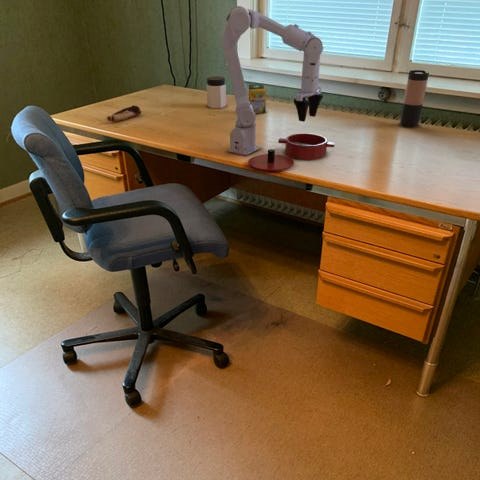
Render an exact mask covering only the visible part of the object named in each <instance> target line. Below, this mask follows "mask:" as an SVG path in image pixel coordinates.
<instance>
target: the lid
mask: <svg viewBox="0 0 480 480" xmlns="http://www.w3.org/2000/svg"><path fill="white" fill-rule="evenodd" d="M247 164H248V166H249V167H251V168H252V169H254V170H258V171H264V172H279V171H285V170H288V169H291V168H293V166H294V164H295V162H294V159H293V158H291V157H289V156H287V155H282V154H277V153H276V150H275V149H273V148H269V149H268V150H267V154H266V153H263V154H257V155H255V156H251V157H250V158H249V159H248V162H247Z"/></svg>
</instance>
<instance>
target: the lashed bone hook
mask: <svg viewBox="0 0 480 480" xmlns="http://www.w3.org/2000/svg"><path fill="white" fill-rule="evenodd" d="M141 114H142V109H141V108H140V107H139V106H138V105H134V104H133V105H131V106H128V107H124V108H122V109H119V110H117V111H116V112H114V113H113V114H111V115H108V116H107V117H106V118H107V121H109V122H119V121H126V120H128V119H132V118H135V117H137V116H139V115H141Z"/></svg>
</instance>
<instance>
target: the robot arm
mask: <svg viewBox="0 0 480 480" xmlns="http://www.w3.org/2000/svg"><path fill="white" fill-rule="evenodd" d="M249 28H250V29H251V30H253V29H258V28H260V29H263V30H265V31H267V32H269V33H272V34H273V35H276V36H278V37H281V40H282V43H283V44H284V45H287V46H289V47H291V48H292V49H295V50H297V51H299V52H303V58H302V59H303V60H302V68H301V69H302V70H301V84H300V90H299V91H298V92H297V93H296V95H295V98H294V99H293V104H294V105H295V107H296V111H297V117H298V121H299V122H306V119H307V113H308V115H309V117H316V116H317V113H318V112H317V111H318V109H319V106H320V103H321V102H322V100H323V99H324V94H322V88H323V87H322V86H319V79H320V69H321V68H320V67H321V55H322V54H323V51H324V46H323V45H324V44H323V41H322V40H321V38H319V37H318V36H316V35H315V34H313V33H312V31H306V30H304V29H301V28H300V26H299V24H296V23H294V24H292V23H291V24H288V25H283V24H281V23H279V22H277V21H275V20H274V19H272V18H270V17H269V16H266V15H264V14H262V13H261V12H259V11H255V10H253V9H249V8H245V7H244V6H240V5H236V6H234V7H233V8H231V10H230V11H229V13H228V14H227V16H226V18H225V23H224V26H223V29H222V33H221V38H220V45H221V48H222V53H223V56H224V61H225V64H226V68H227V72H228V76H229V80H230V84H231V88H232V91H233V95H234V100H235V103H236V107H235V115H236V117H237V119H236V121H235V125H234V128H232V130H231V131H230V133H229V149H228V151H227V152H229V153H233V154H238V155H242V156H248V155H250V154H251V153H254V152H256V151H258V150H260V149H261V146H257V145H256V135H257V133H256V132H257V131H256V129H257V127H256V126H257V125H256V119H257V118H256V113H255V112H254V110H253V106H252V105H251V104H250V102H249V93H248V90H247V86H246V82H245V78H244V73H243V69H242V66H241V61H240V57H239V52H238V49H237V44H238V42H239V40H240V39H241V36H242V35H244V33H246V32H247V31H248V30H249Z"/></svg>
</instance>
